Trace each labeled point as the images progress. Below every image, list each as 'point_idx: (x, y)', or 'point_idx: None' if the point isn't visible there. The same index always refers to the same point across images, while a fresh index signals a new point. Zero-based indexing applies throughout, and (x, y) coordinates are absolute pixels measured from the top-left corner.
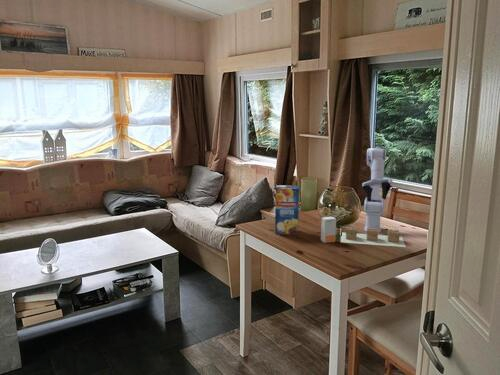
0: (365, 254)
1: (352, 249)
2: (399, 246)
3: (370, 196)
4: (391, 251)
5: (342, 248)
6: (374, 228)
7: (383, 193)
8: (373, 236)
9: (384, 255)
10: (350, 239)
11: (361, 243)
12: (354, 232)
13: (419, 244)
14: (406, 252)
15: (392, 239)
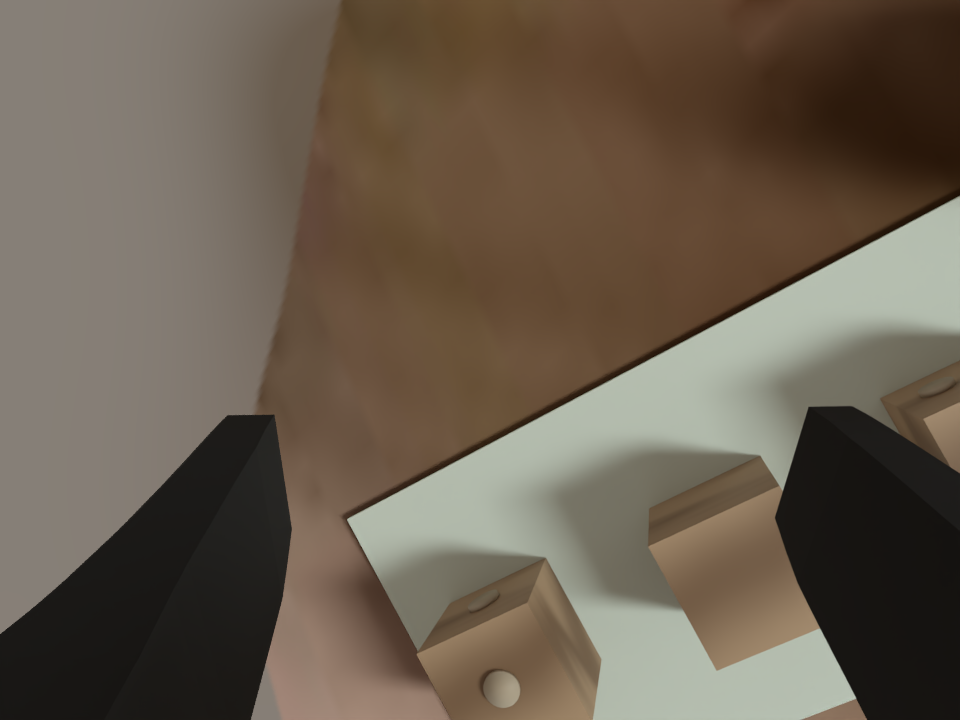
0: (561, 45)
1: (752, 80)
2: (397, 495)
3: (860, 645)
4: (405, 322)
5: (868, 21)
6: (749, 646)
7: (156, 500)
8: (694, 501)
9: (404, 164)
10: (948, 361)
11: (759, 316)
12: (940, 399)
13: (298, 697)
14: (292, 393)
15: (501, 587)
